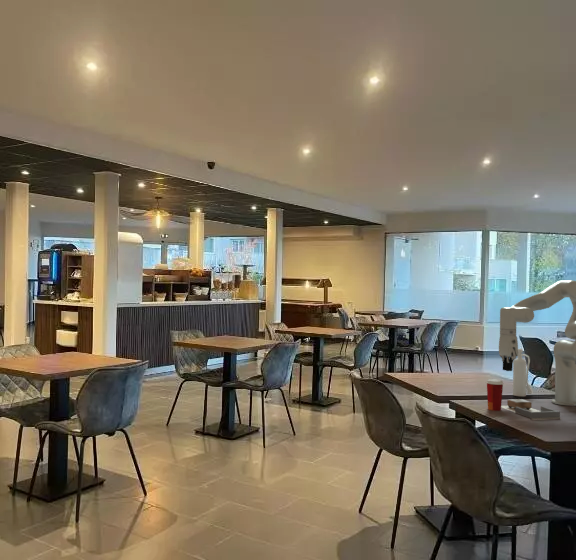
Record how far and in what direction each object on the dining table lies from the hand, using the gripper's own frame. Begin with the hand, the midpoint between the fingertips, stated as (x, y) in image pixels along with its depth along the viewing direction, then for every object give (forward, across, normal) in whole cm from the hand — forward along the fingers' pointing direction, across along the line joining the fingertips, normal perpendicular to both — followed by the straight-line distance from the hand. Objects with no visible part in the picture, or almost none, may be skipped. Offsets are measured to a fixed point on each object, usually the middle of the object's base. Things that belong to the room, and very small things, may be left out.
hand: (507, 370), depth 284 cm
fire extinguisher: (+17, +25, -24) cm, 39 cm away
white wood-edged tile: (+17, -10, 0) cm, 19 cm away
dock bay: (+17, -16, 0) cm, 23 cm away
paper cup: (+17, -10, +13) cm, 24 cm away
